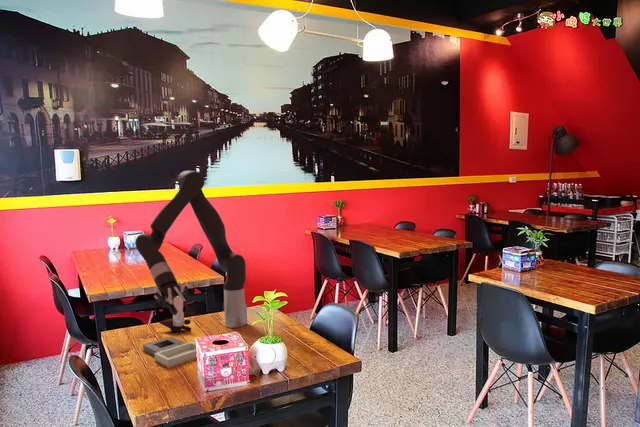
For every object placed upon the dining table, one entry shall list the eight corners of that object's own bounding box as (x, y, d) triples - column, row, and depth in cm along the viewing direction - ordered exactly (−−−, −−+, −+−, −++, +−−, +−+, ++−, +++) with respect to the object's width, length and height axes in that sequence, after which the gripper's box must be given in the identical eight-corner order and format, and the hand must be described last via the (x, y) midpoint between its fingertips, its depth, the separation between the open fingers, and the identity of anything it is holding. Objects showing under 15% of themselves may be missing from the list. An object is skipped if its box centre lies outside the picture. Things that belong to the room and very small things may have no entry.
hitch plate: (170, 342, 199) (170, 336, 198) (185, 349, 190) (185, 343, 190) (143, 350, 190) (142, 344, 190) (157, 358, 182) (157, 352, 182)
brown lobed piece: (154, 320, 209) (186, 323, 207) (162, 311, 216) (193, 314, 214) (156, 333, 211) (188, 337, 209) (163, 324, 218) (194, 327, 216)
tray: (192, 348, 191) (191, 341, 191) (206, 354, 184) (205, 347, 184) (154, 361, 179) (154, 353, 179) (168, 368, 172) (167, 360, 172)
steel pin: (180, 322, 183) (179, 294, 182) (186, 324, 180) (185, 296, 179) (171, 324, 180) (169, 296, 179) (176, 327, 178) (175, 298, 177)
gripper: (148, 273, 179) (166, 311, 171) (182, 267, 189) (201, 303, 182) (143, 285, 183) (160, 322, 176) (176, 278, 193) (194, 313, 186)
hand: (180, 312), depth 179 cm, fingers closed on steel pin, 4 cm apart
